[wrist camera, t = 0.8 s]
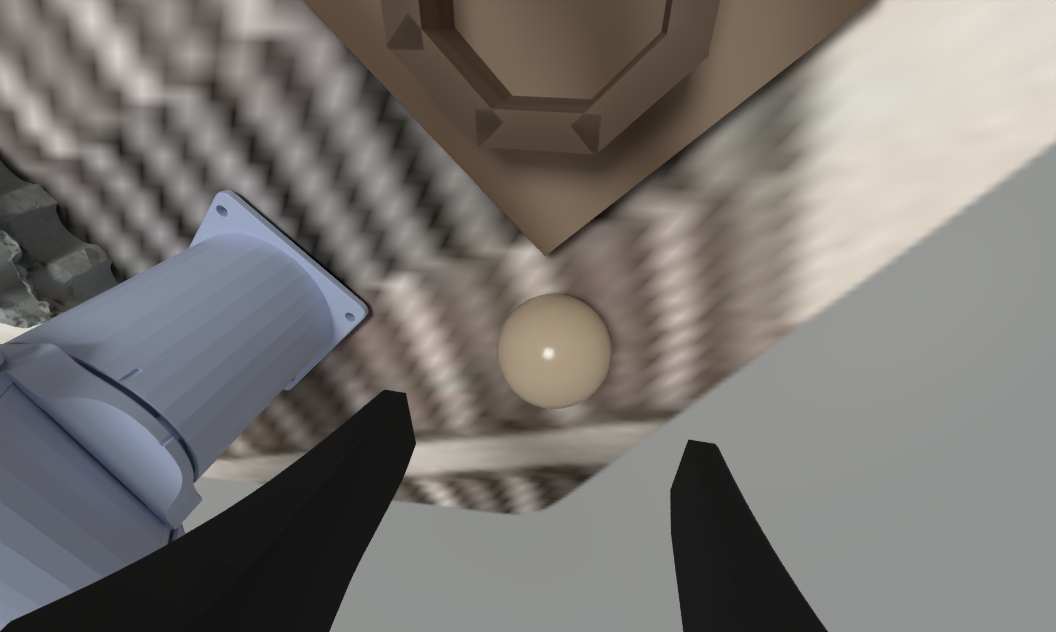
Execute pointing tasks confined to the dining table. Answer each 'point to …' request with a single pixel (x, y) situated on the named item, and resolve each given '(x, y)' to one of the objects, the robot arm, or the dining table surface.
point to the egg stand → (573, 85)
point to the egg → (554, 351)
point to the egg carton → (42, 258)
